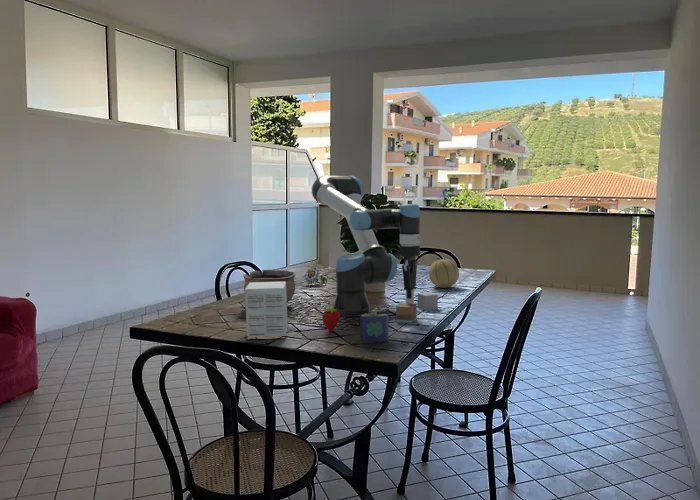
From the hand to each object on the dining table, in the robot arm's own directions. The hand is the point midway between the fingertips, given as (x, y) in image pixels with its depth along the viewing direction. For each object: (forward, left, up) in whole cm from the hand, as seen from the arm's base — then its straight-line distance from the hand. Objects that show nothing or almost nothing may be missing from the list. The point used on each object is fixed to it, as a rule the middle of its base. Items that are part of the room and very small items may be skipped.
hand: (410, 306), depth 196 cm
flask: (-18, -29, -5) cm, 35 cm away
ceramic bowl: (-54, +28, -5) cm, 61 cm away
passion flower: (-33, +78, -5) cm, 85 cm away
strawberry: (-31, -15, -5) cm, 35 cm away
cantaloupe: (+30, +56, -5) cm, 63 cm away
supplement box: (-53, -14, -5) cm, 55 cm away
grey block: (+11, +15, -5) cm, 19 cm away
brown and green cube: (-2, -4, -5) cm, 7 cm away
